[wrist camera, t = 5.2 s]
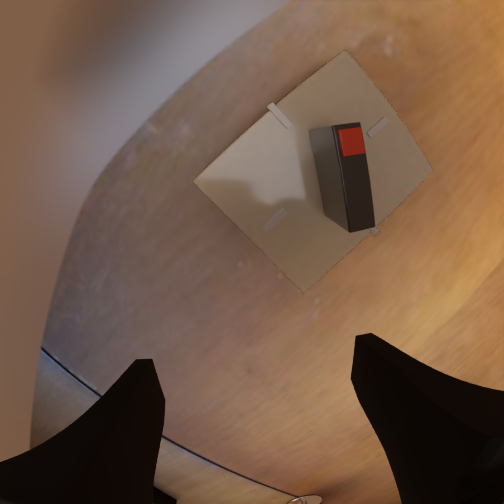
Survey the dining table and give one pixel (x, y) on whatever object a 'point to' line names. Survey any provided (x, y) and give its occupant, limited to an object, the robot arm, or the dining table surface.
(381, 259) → the dining table surface
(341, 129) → the black block red patch
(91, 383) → the dining table surface
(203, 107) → the dining table surface
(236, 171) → the panel
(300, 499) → the wineglass
